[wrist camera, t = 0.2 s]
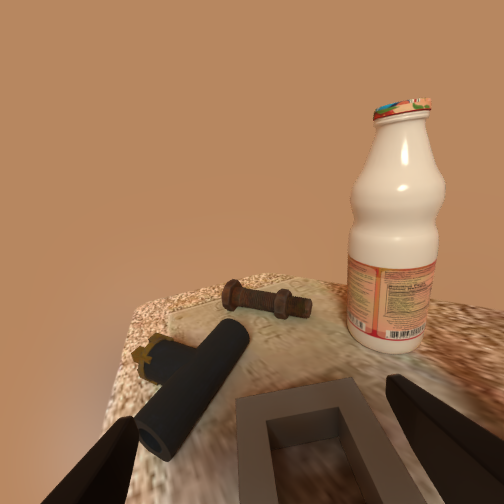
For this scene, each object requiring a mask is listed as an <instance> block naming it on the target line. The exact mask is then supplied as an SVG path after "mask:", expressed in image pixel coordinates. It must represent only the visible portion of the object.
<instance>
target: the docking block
mask: <svg viewBox="0 0 504 504" xmlns="http://www.w3.org/2000/svg"><path fill="white" fill-rule="evenodd" d="M236 424H237V450H238V475H239V501H240V504H279V503H278V497H277V490H276V484H275V477H274V471H273V464H272V458H271V451H270V450H273V449H278V448H283V447H288V446H293V445H298V444H303V443H308V442H313V441H318V440H323V439H328V438H333V437H339V439H340V442H341V444H342V447H343V449H344V451H345V454H346V456H347V459H348V461H349V463H350V466H351V468H352V471H353V473H354V476H355V478H356V480H357V483H358V485H359V488H360V490H361V493H362V495H363V497H364V500H365V502H366V504H427V503H426V501H425V499H424V498H423V496H422V494H421V492H420V491H419V489H418V487H417V486H416V484H415V482H414V481H413V479H412V477H411V476H410V474H409V472H408V471H407V469H406V467H405V465H404V464H403V462H402V460H401V459H400V457H399V455H398V454H397V452H396V450H395V449H394V447H393V445H392V444H391V442H390V440H389V438H388V437H387V435H386V433H385V432H384V430H383V428H382V427H381V425H380V423H379V422H378V420H377V418H376V417H375V415H374V413H373V411H372V410H371V408H370V406H369V405H368V403H367V401H366V400H365V398H364V396H363V395H362V393H361V391H360V390H359V388H358V386H357V384H356V383H355V381H354V379H353V378H352V377H349V378H344V379H339V380H333V381H328V382H323V383H317V384H312V385H307V386H301V387H296V388H291V389H285V390H280V391H274V392H269V393H264V394H258V395H253V396H248V397H242V398H237V399H236Z"/></svg>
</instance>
